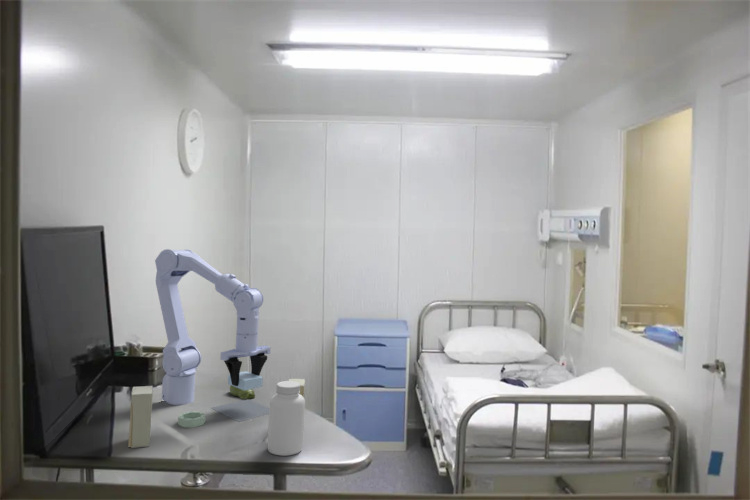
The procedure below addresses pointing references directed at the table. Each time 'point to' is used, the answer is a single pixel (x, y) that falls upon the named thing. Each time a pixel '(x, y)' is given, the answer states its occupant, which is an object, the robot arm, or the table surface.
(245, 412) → the mat
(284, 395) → the pill bottle
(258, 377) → the block
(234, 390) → the pear
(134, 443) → the skincare box
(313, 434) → the table surface
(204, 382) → the table surface
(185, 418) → the bowl
